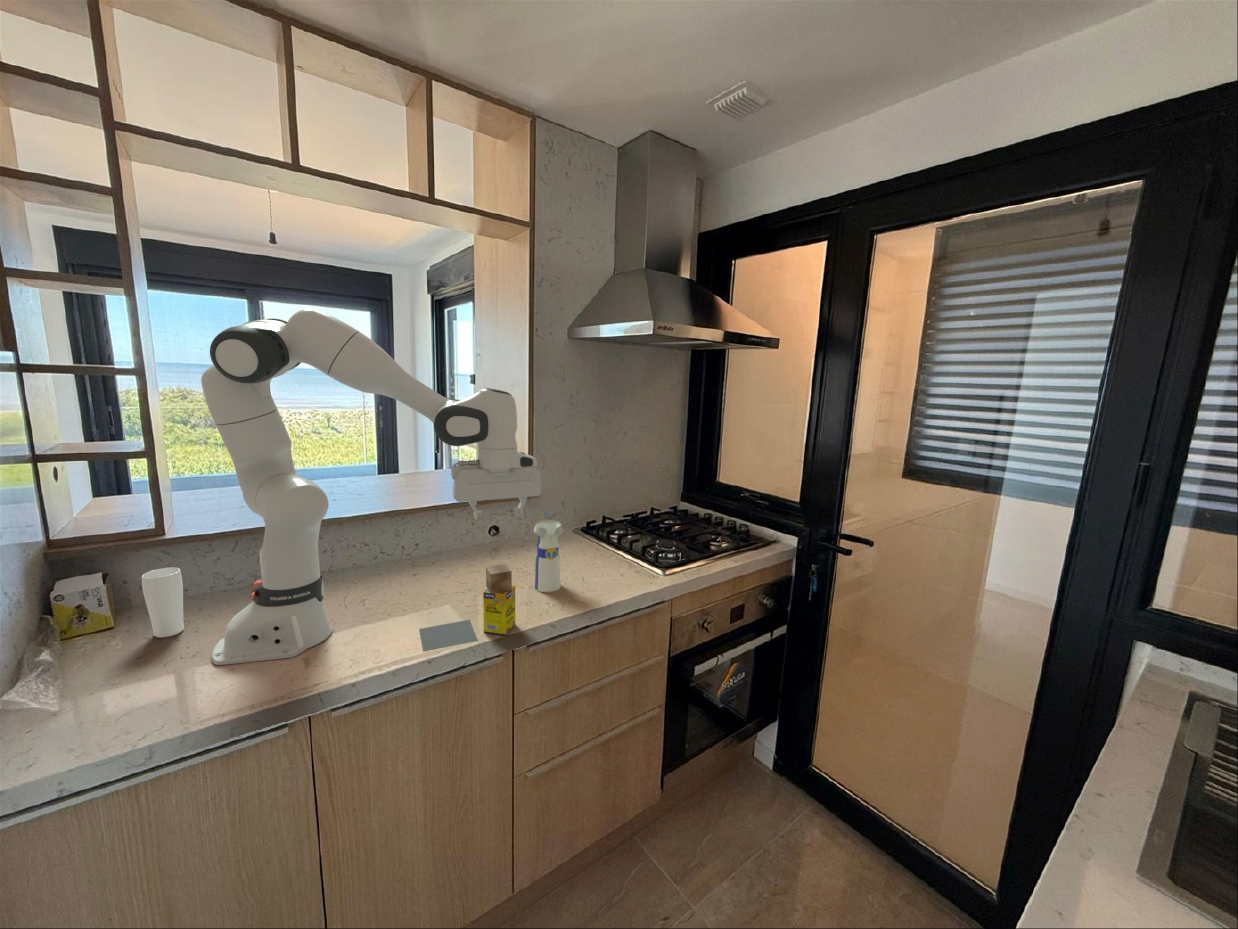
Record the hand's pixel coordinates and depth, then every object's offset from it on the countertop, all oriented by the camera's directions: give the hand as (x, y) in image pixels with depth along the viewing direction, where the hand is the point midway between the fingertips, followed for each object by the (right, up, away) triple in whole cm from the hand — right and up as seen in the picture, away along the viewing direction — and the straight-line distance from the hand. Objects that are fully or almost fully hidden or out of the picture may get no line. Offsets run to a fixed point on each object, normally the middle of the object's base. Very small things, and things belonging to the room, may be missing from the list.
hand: (498, 516), depth 117 cm
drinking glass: (-77, -27, -1) cm, 82 cm away
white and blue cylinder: (+7, -24, +31) cm, 40 cm away
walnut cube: (-1, -18, +3) cm, 18 cm away
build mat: (-12, -29, +1) cm, 31 cm away
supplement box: (-1, -29, +5) cm, 29 cm away
